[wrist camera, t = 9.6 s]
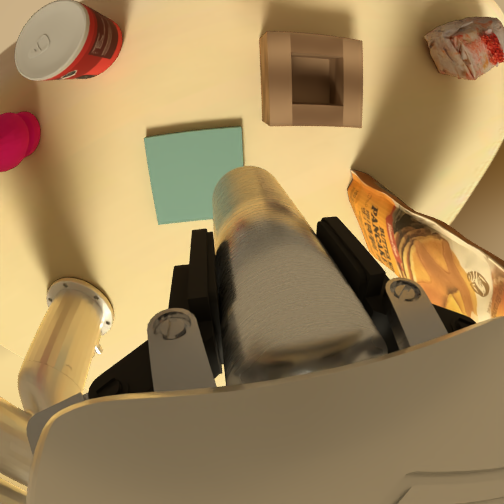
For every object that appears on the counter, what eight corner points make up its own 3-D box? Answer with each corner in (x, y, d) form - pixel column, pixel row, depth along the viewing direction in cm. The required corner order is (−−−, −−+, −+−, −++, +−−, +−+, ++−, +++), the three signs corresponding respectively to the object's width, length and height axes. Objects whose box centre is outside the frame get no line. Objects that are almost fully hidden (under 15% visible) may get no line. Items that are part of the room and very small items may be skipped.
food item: (437, 82, 29) (486, 91, 21) (411, 34, 25) (461, 31, 17) (481, 53, 25) (525, 59, 17) (460, 10, 22) (505, 8, 13)
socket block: (343, 121, 32) (361, 127, 27) (262, 120, 31) (270, 126, 27) (343, 45, 26) (362, 40, 22) (259, 39, 26) (266, 31, 21)
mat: (245, 212, 37) (245, 215, 36) (159, 221, 36) (158, 224, 35) (240, 126, 31) (241, 127, 30) (145, 137, 30) (144, 138, 29)
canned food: (54, 58, 22) (2, 57, 13) (98, 8, 20) (56, -15, 11) (90, 91, 26) (43, 98, 17) (137, 40, 24) (104, 22, 14)
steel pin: (281, 163, 16) (408, 310, 5) (281, 227, 18) (365, 403, 8) (209, 169, 15) (216, 344, 5) (215, 234, 17) (235, 430, 7)
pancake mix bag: (373, 145, 34) (555, 266, 10) (405, 249, 43) (507, 379, 20) (331, 168, 35) (494, 326, 11) (372, 268, 45) (463, 413, 21)
